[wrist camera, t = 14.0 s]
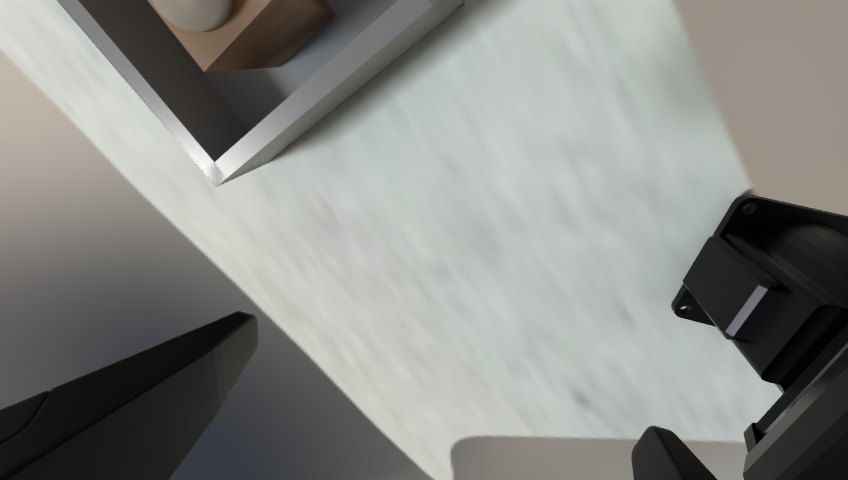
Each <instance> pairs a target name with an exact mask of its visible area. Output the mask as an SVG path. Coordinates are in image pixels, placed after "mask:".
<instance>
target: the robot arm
mask: <svg viewBox="0 0 848 480" xmlns="http://www.w3.org/2000/svg"><path fill="white" fill-rule="evenodd" d="M748 203H751V207H750V208H749V209H747V210H745V211H743V207H744V206H745V205H746V204H748ZM683 283H684V284H683V285H682V287H681V289H680V290H679V292H678V294H677V295H676V297H675V299H674V300H673V302H672V304H671V308H672V310H673V311H674V313H675V314H676V315H677V316H678V317H680V318H684V319H688V320H692V321H696V322H700V323H704V324H708V325H712V326H716V327H717V328H718V329H719V331H720V332H721V333H722V334H723V336H724V337H725V338H726V339H729V340H731V341H732V342H733V343H734V344H735V346H736V347H737V348H738V350H739V351H740V352H741V353H742V355H743V356H744V357H745V358H746V360H747V361H748V362H749V363H750V365H751V366H752V367H753V369H754V370H755V371H756V372H757V374H758V375H759V376H760V377H761V379H762V380H764V381H766V382H770V383H774V384H775V385H776V386H777V387H778V388H779V389H780V391H781V392H782V393H783V395H782V396H781V397H780V398H779V399H778V400H777V401H776V403H775V404H774V405H773V406H772V407H771V408H770V409H769V410H768V411H767V412H766V414H765V415H764V416H763V417H762V418H761V419H760V420H759V421H758V422H757V423H752V424H751V425H750V426H749V427H748V428H747V429H746V430H745V432H744V437H745V442H746V446H747V450H748V454H747V456H746V459H745V465H744V471H743V476H744V480H848V216H844V215H840V214H835V213H831V212H826V211H822V210H817V209H813V208H808V207H804V206H799V205H795V204H790V203H786V202H781V201H777V200H772V199H768V198H763V197H759V196H754V195H742V196H740V197H738V198H736V199H735V200H734V201H733V203H732V204H731V206H730V208H729V209H728V211H727V212H726V214H725V216H724V217H723V219H722V221H721V222H720V224H719V226H718V227H717V229H716V231H715V232H714V234H713V236H711V237H710V238H708V240H707V241H706V243H705V245H704V246H703V248H702V250H701V251H700V253H699V255H698V256H697V258H696V260H695V261H694V263H693V265H692V266H691V268H690V270H689V271H688V273H687V275H686V276H685V278H684V280H683ZM682 306H688V307H686V308H685V309H680V308H681V307H682ZM257 345H258V320H257V317H256V316H255V315H254V314H251V313H247V312H243V311H237V312H234V313H232V314H229V315H227V316H224V317H222V318H220V319H217V320H215V321H212V322H210V323H208V324H205V325H203V326H200V327H198V328H196V329H194V330H191V331H189V332H186V333H184V334H181V335H179V336H176V337H174V338H172V339H169V340H167V341H165V342H162V343H160V344H157V345H155V346H153V347H150V348H148V349H145V350H143V351H141V352H138V353H136V354H133V355H131V356H128V357H126V358H124V359H121V360H119V361H116V362H114V363H112V364H109V365H107V366H105V367H102V368H100V369H98V370H95V371H92V372H90V373H88V374H85V375H83V376H81V377H78V378H76V379H73V380H71V381H69V382H66V383H64V384H61V385H59V386H56V387H54V388H52V389H51V391H44V392H42V393H40V394H37V395H35V396H32V397H30V398H27V399H25V400H23V401H20V402H18V403H15V404H13V405H10V406H8V407H5V408H3V409H0V480H169V479H170V477H171V476H172V474H173V473H174V472H175V470H176V469H177V468H178V466H179V465H180V464H181V462H182V461H183V460H184V458H185V457H186V455H187V454H188V453H189V451H190V450H191V449H192V447H193V446H194V445H195V443H196V442H197V441H198V439H199V438H200V437H201V435H202V434H203V432H204V431H205V430H206V428H207V427H208V426H209V424H210V423H211V422H212V420H213V419H214V418H215V416H216V415H217V413H218V412H219V410H220V409H221V407H222V406H223V404H224V402H225V401H226V399H227V398H228V396H229V394H230V393H231V391H232V389H233V388H234V386H235V384H236V383H237V381H238V379H239V378H240V376H241V374H242V372H243V371H244V369H245V367H246V365H247V364H248V362H249V361H250V359H251V357H252V356H253V354H254V352H255V350H256V348H257ZM632 468H633V476H634V480H717V479H716V478H715V477H714V475H713V474H712V473H711V472H710V471H709V470H708V469H707V468H706V467H705V466H704V465H703V464H702V463H701V461H700V460H699V459H698V458H697V457H696V456H695V455H694V454H693V453H692V452H691V451H690V450H689V448H688V447H687V446H686V445H685V444H684V443H683V442H682V441H681V440H680V439H679V438H678V437H677V435H676V434H674V433H673V432H672V431H670V430H667V429H664V428H660V427H657V426H650V427H648V428H647V429H646V431H645V432H644V433H643V435H642V436H641V438H640V439H639V441H638V442H637V444H636V445H635V446H634V448H633V451H632Z"/></svg>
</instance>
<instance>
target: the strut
mask: <svg viewBox="0 0 848 480" xmlns="http://www.w3.org/2000/svg"><path fill="white" fill-rule="evenodd" d="M148 2H149V3H150V4H151V5H152V7H153V8H154V9H155V10H156V12H157V13H158V14H159V15H160V17H161V18H162V19H163V20H164V22H165V23H166V24H167V26H168V27H169V28H170V29H171V31H172V32H173V33H174V34H175V36H176V37H177V38H178V39H179V41H180V42H181V43H182V44H183V46H184V47H185V48H186V50H187V51H188V52H189V53H190V55H191V56H192V57H193V58H194V60H195V61H196V62H197V63H198V65H199V66H200V67H201V68H202V70H203V71H204V72H210V71H227V70H243V69H260V68H277V67H281V66H282V65H283V64H284V63H285V62H286V61H287V60H288V59H289V58H290V57H291V56H292V55H293V54H294V53H296V52H297V51H298V50H299V49H300V48H301V47H302V46H303V45H304V44H305V43H306V42H307V41H308V40H309V39H310V38H311V37H312V36H314V35H315V34H316V33H317V32H318V31H319V30H320V29H321V28H322V27H323V26H324V25H325V24H326V23H327V22H328V21H329V20H330V19H332V18H333V17H334V16H335V15H336V14H335V13H334V11H333V10H332V8H331V7H330V5H329V4H328V2H327V1H326V0H148Z"/></svg>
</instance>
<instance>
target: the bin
mask: <svg viewBox="0 0 848 480" xmlns="http://www.w3.org/2000/svg"><path fill="white" fill-rule="evenodd" d="M57 1H58V2H59V4H60V5H61V6H62V7H63V8H64V9H65V11H66V12H67V13H68V14H69V15H70V16H71V18H72V19H73V20H74V21H75V22H76V23H77V25H78V26H79V27H80V28H81V29H82V30H83V32H84V33H85V34H86V35H87V36H88V37H89V39H90V40H91V41H92V42H93V43H94V44H95V46H96V47H97V48H98V49H99V50H100V51H101V53H102V54H103V55H104V56H105V57H106V58H107V60H108V61H109V62H110V63H111V64H112V65H113V67H114V68H115V69H116V70H117V71H118V72H119V74H120V75H121V76H122V77H123V78H124V79H125V81H126V82H127V83H128V84H129V85H130V86H131V88H132V89H133V90H134V91H135V92H136V93H137V95H138V96H139V97H140V98H141V99H142V100H143V102H144V103H145V104H146V105H147V106H148V107H149V109H150V110H151V111H152V112H153V113H154V114H155V116H156V117H157V118H158V119H159V120H160V121H161V123H162V124H163V125H164V126H165V127H166V129H167V130H168V131H169V132H170V133H171V134H172V136H173V137H174V138H175V139H176V140H177V141H178V143H179V144H180V145H181V146H182V147H183V148H184V150H185V151H186V152H187V153H188V154H189V155H190V157H191V158H192V159H193V160H194V161H195V162H196V164H197V165H198V166H199V167H200V168H201V169H202V171H203V172H204V173H205V174H206V175H207V176H208V178H209V179H210V180H211V181H212V182H213V183H214V185H215V186H216V187H217V186H219V185H221V184H224V183H226V182H228V181H230V180H232V179H234V178H237V177H239V176H241V175H243V174H245V173H247V172H250V171H252V170H254V169H256V168H258V167H260V166H263V165H265V164H267V163H268V162H269V161H270V160H272V159H273V158H274V157H275V156H277V155H278V154H279V153H280V152H281V151H283V150H284V149H285V148H286V147H288V146H289V145H290V144H291V143H293V142H294V141H295V140H296V139H298V138H299V137H300V136H301V135H303V134H304V133H305V132H306V131H307V130H309V129H310V128H311V127H312V126H314V125H315V124H316V123H317V122H319V121H320V120H321V119H322V118H324V117H325V116H326V115H327V114H329V113H330V112H331V111H332V110H333V109H335V108H336V107H337V106H338V105H340V104H341V103H342V102H343V101H345V100H346V99H347V98H348V97H350V96H351V95H352V94H353V93H355V92H356V91H357V90H358V89H360V88H361V87H362V86H363V85H364V84H366V83H367V82H368V81H369V80H371V79H372V78H373V77H374V76H376V75H377V74H378V73H379V72H381V71H382V70H383V69H384V68H386V67H387V66H388V65H389V64H390V63H392V62H393V61H394V60H395V59H397V58H398V57H399V56H400V55H402V54H403V53H404V52H405V51H407V50H408V49H409V48H410V47H412V46H413V45H414V44H415V43H416V42H418V41H419V40H420V39H421V38H423V37H424V36H425V35H426V34H428V33H429V32H430V31H431V30H433V29H434V28H435V27H436V26H438V25H439V24H440V23H441V22H443V21H444V20H445V19H446V18H447V17H449V16H450V15H451V14H452V13H454V12H455V11H456V10H457V9H459V8H460V7H461V6H462V5H464V3H463V1H462V0H326V1H327V2H328V4H329V5H330V7H331V8H332V10H333V11H334V13H335V14H336V15H335V16H334V17H333V18H332V19H330V20H329V21H328V22H327V23H326V24H325V25H324V26H323V27H322V28H321V29H320V30H319V31H318V32H317V33H316V34H315V35H314V36H312V37H311V38H310V39H309V40H308V41H307V42H306V43H305V44H304V45H303V46H302V47H301V48H300V49H299V50H298V51H297V52H296V53H294V54H293V55H292V56H291V57H290V58H289V59H288V60H287V61H286V62H285V63H284V64H283V65H282V66H281V67H277V68H260V69H243V70H227V71H210V72H204V71H203V70H202V68H201V67H200V66H199V65H198V63H197V62H196V61H195V60H194V58H193V57H192V56H191V55H190V53H189V52H188V51H187V50H186V48H185V47H184V46H183V44H182V43H181V42H180V41H179V39H178V38H177V37H176V36H175V34H174V33H173V32H172V31H171V29H170V28H169V27H168V26H167V24H166V23H165V22H164V20H163V19H162V18H161V17H160V15H159V14H158V13H157V12H156V10H155V9H154V8H153V7H152V5H151V4H150V3H149V2H148V0H57Z"/></svg>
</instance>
